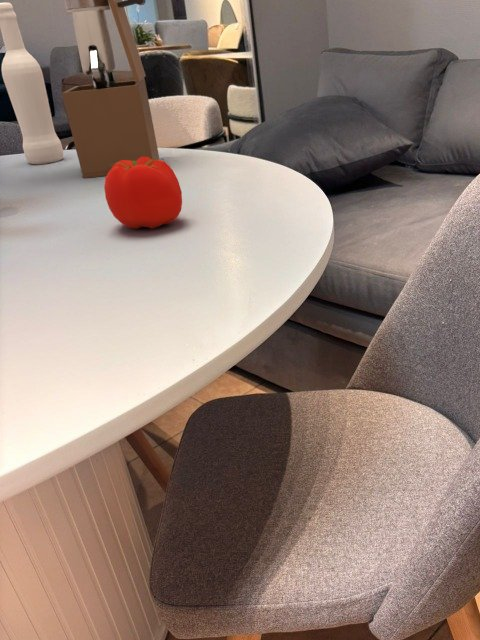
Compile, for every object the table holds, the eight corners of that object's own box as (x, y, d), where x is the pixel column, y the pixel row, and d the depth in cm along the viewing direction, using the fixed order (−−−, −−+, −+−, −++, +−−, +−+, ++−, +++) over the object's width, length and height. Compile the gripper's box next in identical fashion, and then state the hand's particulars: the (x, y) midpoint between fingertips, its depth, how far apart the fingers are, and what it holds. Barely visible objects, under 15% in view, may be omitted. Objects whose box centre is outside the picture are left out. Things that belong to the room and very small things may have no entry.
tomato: (168, 237, 83) (154, 168, 79) (96, 236, 86) (79, 169, 82) (201, 214, 92) (191, 150, 87) (135, 214, 95) (121, 152, 90)
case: (83, 178, 122) (61, 93, 114) (94, 164, 133) (75, 86, 125) (154, 170, 122) (138, 85, 115) (159, 157, 134) (144, 79, 126)
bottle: (64, 155, 146) (24, 1, 131) (65, 161, 139) (23, 0, 124) (28, 160, 144) (-17, 5, 129) (26, 166, 138) (-21, 3, 122)
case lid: (104, -11, 107) (135, -19, 107) (114, -8, 119) (142, -15, 118) (135, 82, 114) (164, 75, 114) (142, 77, 126) (168, 70, 126)
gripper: (74, 5, 120) (98, 108, 130) (55, 3, 105) (83, 119, 115) (114, 1, 121) (135, 104, 130) (101, -2, 106) (125, 115, 115)
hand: (110, 110), depth 122 cm, fingers closed on bottle small, 6 cm apart
